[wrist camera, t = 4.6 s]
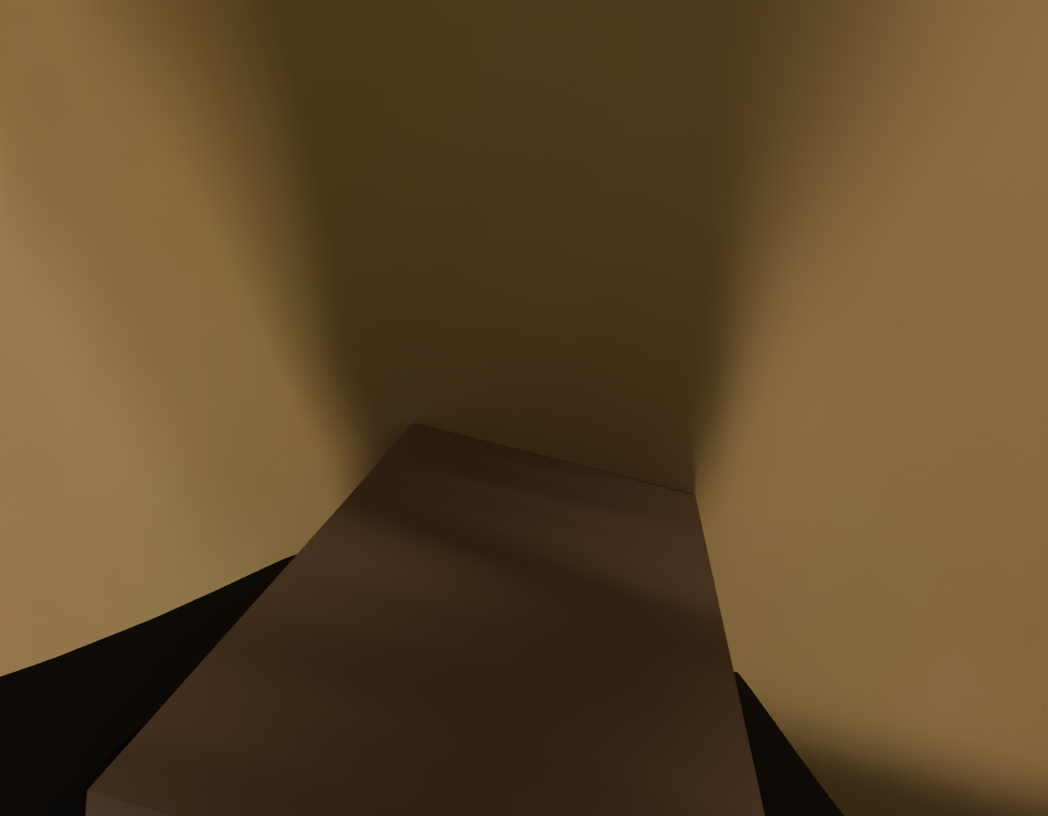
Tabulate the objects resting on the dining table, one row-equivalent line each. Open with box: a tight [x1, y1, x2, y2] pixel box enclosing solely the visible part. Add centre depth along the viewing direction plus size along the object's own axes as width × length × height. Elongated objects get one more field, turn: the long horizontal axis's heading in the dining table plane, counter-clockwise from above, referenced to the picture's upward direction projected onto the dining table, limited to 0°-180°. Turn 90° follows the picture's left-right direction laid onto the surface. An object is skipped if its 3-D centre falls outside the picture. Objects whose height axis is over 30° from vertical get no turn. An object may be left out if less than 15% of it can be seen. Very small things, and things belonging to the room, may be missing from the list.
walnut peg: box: [85, 424, 765, 816], centre depth 8 cm, size 4×4×7 cm
